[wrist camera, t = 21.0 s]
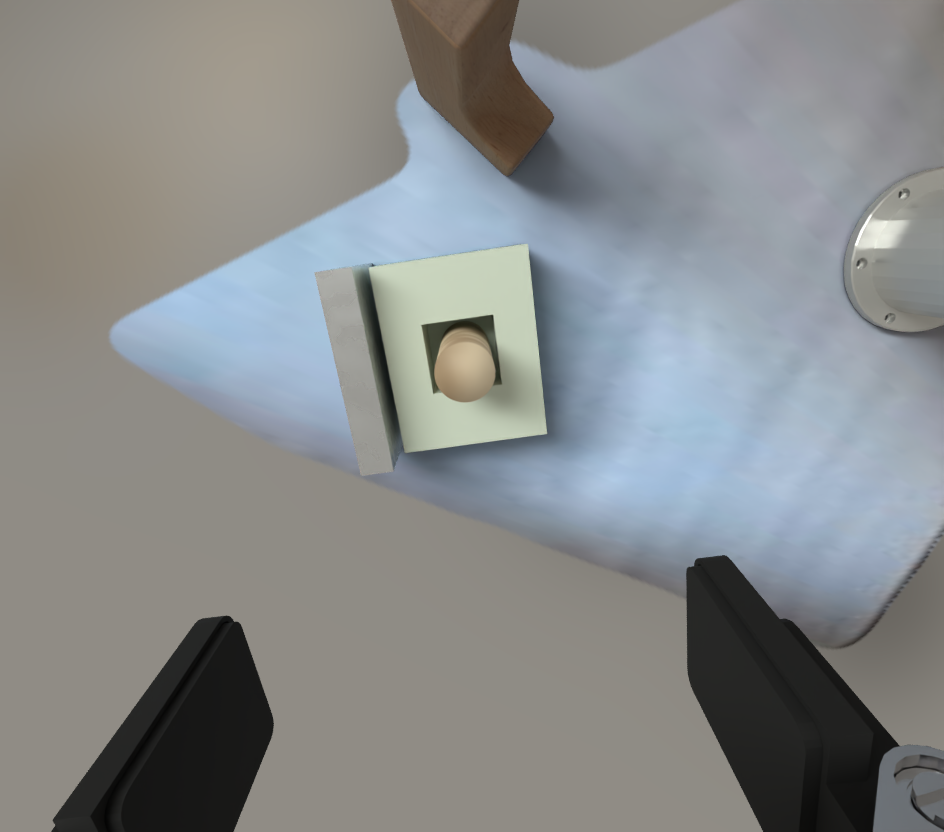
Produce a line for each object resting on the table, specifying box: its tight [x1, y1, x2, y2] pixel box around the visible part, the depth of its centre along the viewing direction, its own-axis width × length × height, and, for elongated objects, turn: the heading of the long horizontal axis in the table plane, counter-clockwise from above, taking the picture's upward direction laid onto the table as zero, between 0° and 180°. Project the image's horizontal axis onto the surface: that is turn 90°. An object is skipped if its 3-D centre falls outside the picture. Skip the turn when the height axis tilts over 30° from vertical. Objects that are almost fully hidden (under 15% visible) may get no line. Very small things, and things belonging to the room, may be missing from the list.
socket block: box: [369, 244, 547, 453], centre depth 41 cm, size 12×14×5 cm
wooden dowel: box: [434, 321, 495, 402], centre depth 38 cm, size 4×4×10 cm
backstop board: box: [314, 263, 403, 476], centre depth 40 cm, size 2×15×8 cm, turn 8°
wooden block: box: [391, 0, 554, 176], centre depth 30 cm, size 9×4×18 cm, turn 49°
